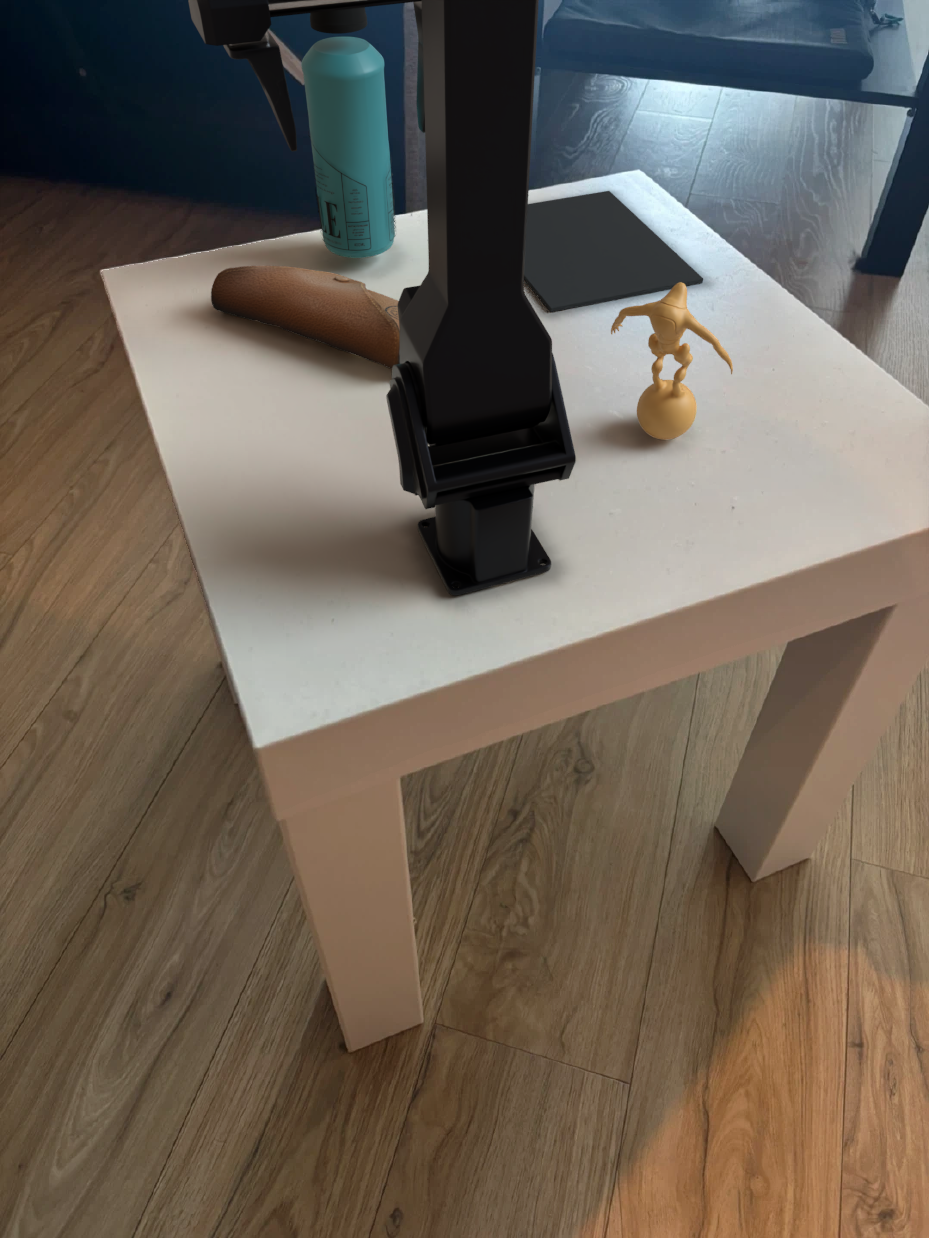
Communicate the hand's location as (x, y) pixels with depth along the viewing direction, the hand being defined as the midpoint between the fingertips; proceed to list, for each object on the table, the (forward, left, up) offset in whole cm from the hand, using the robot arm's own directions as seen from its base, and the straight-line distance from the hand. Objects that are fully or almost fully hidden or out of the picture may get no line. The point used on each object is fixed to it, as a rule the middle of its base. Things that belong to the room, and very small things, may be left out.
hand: (359, 139), depth 64 cm
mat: (+6, -21, -14) cm, 26 cm away
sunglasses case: (+1, +3, -14) cm, 15 cm away
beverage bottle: (+11, -2, -14) cm, 18 cm away
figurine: (-21, -14, -14) cm, 29 cm away
